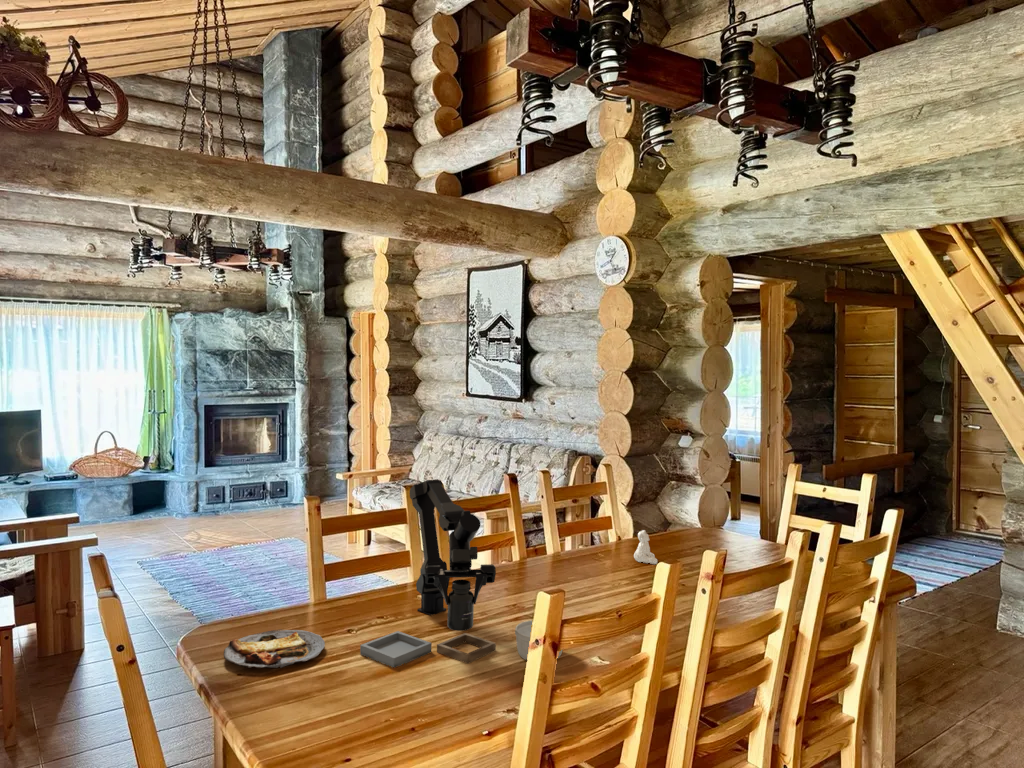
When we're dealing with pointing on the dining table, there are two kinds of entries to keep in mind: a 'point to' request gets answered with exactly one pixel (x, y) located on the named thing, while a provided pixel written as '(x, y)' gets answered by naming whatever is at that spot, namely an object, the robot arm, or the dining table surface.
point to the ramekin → (524, 638)
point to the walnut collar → (462, 656)
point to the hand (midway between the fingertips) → (461, 603)
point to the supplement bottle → (460, 606)
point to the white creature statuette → (644, 549)
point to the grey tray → (395, 649)
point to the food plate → (273, 648)
